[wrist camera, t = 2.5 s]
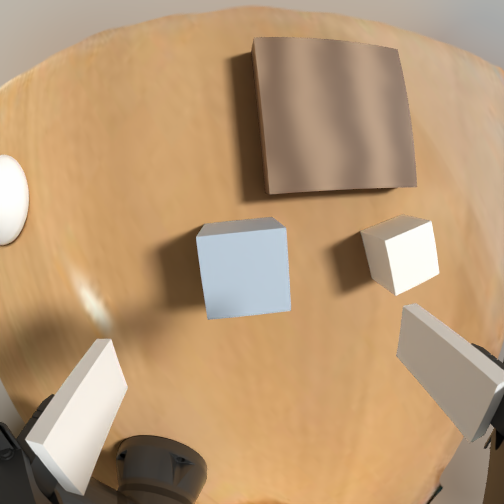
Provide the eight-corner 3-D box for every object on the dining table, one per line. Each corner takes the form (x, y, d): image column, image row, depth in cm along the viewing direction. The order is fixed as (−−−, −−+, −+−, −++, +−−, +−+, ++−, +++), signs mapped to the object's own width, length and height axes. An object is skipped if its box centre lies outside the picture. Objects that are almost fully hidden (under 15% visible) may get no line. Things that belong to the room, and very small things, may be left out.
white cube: (371, 278, 33) (395, 295, 28) (359, 230, 32) (384, 240, 26) (411, 260, 33) (439, 273, 27) (401, 214, 32) (431, 220, 26)
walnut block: (264, 193, 31) (269, 194, 27) (250, 53, 27) (253, 37, 23) (398, 186, 32) (416, 187, 28) (381, 60, 28) (397, 49, 24)
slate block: (212, 287, 32) (207, 319, 24) (204, 223, 31) (195, 236, 23) (277, 281, 33) (290, 310, 25) (272, 216, 31) (286, 227, 23)
